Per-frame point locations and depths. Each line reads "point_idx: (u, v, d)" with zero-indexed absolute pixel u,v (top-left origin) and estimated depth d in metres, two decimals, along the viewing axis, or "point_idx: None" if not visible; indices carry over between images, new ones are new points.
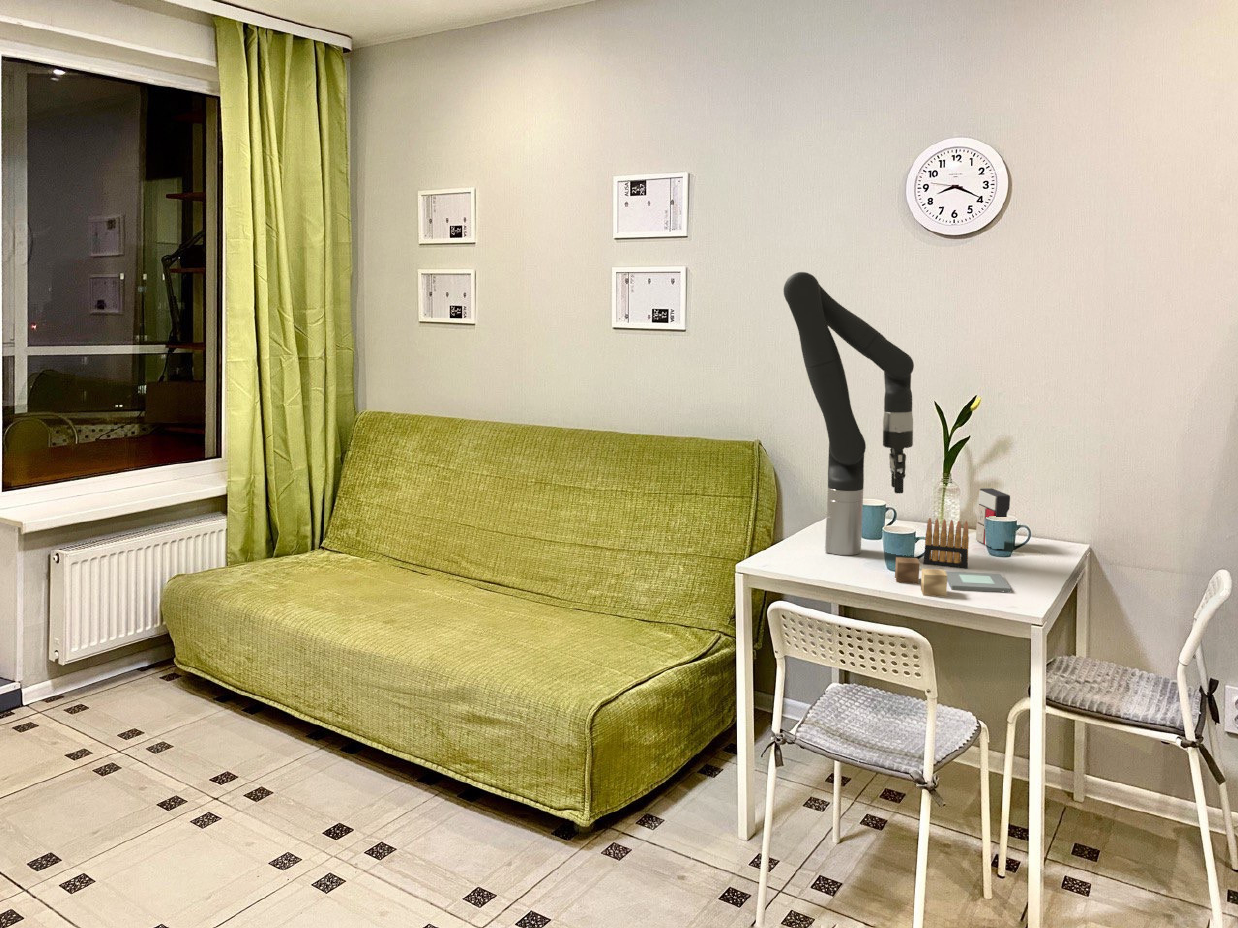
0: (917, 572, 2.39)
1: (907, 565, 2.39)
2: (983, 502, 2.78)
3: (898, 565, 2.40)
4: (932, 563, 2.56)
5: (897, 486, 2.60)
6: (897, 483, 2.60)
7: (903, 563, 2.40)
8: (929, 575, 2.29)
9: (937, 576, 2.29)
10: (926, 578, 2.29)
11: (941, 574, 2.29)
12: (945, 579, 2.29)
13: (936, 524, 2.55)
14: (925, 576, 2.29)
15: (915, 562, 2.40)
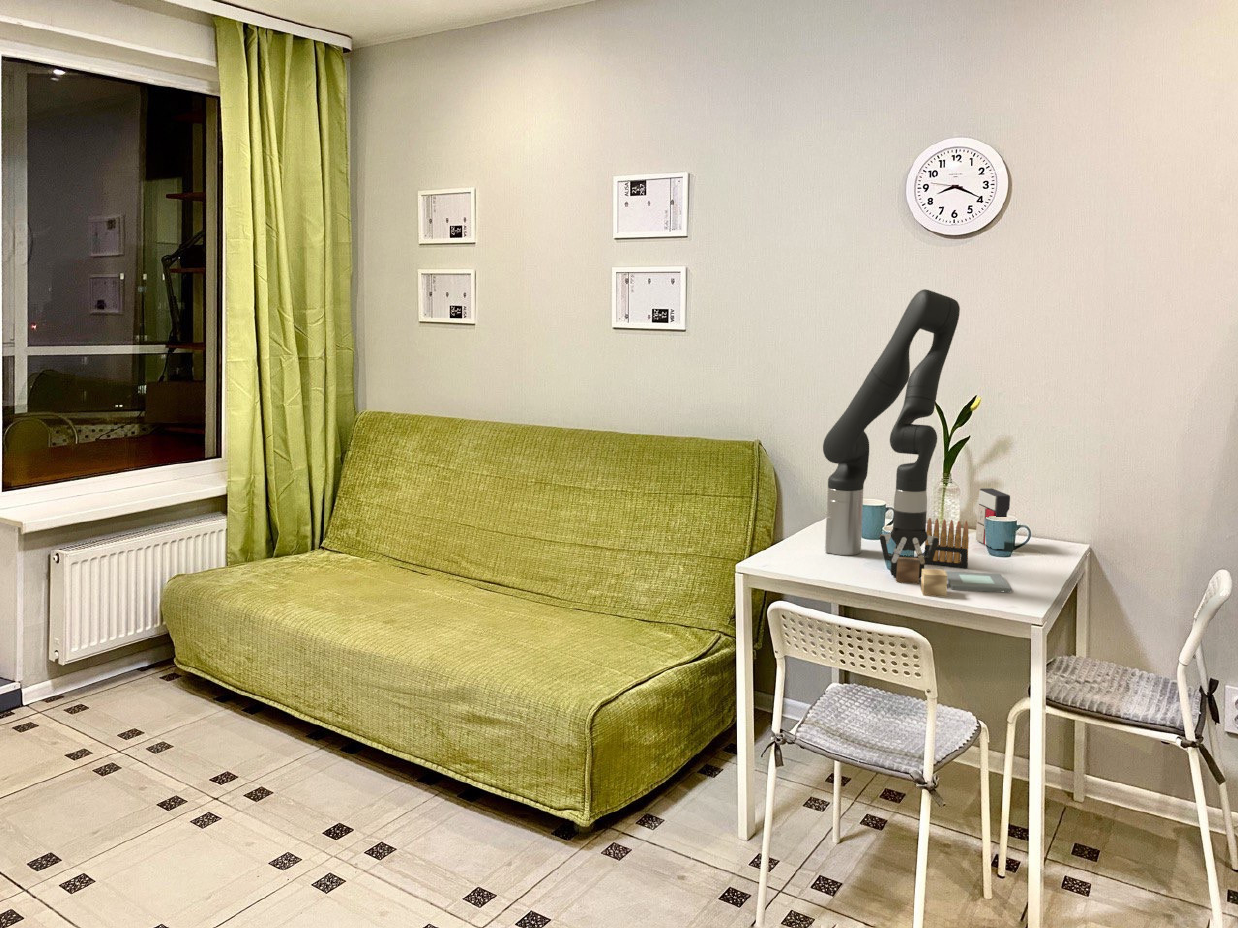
0: (917, 572, 2.39)
1: (907, 565, 2.39)
2: (983, 502, 2.78)
3: (898, 565, 2.40)
4: (932, 563, 2.56)
5: None
6: (923, 568, 2.41)
7: (903, 563, 2.40)
8: (929, 575, 2.29)
9: (937, 576, 2.29)
10: (926, 578, 2.29)
11: (941, 574, 2.29)
12: (945, 579, 2.29)
13: (936, 524, 2.55)
14: (925, 576, 2.29)
15: (915, 562, 2.40)
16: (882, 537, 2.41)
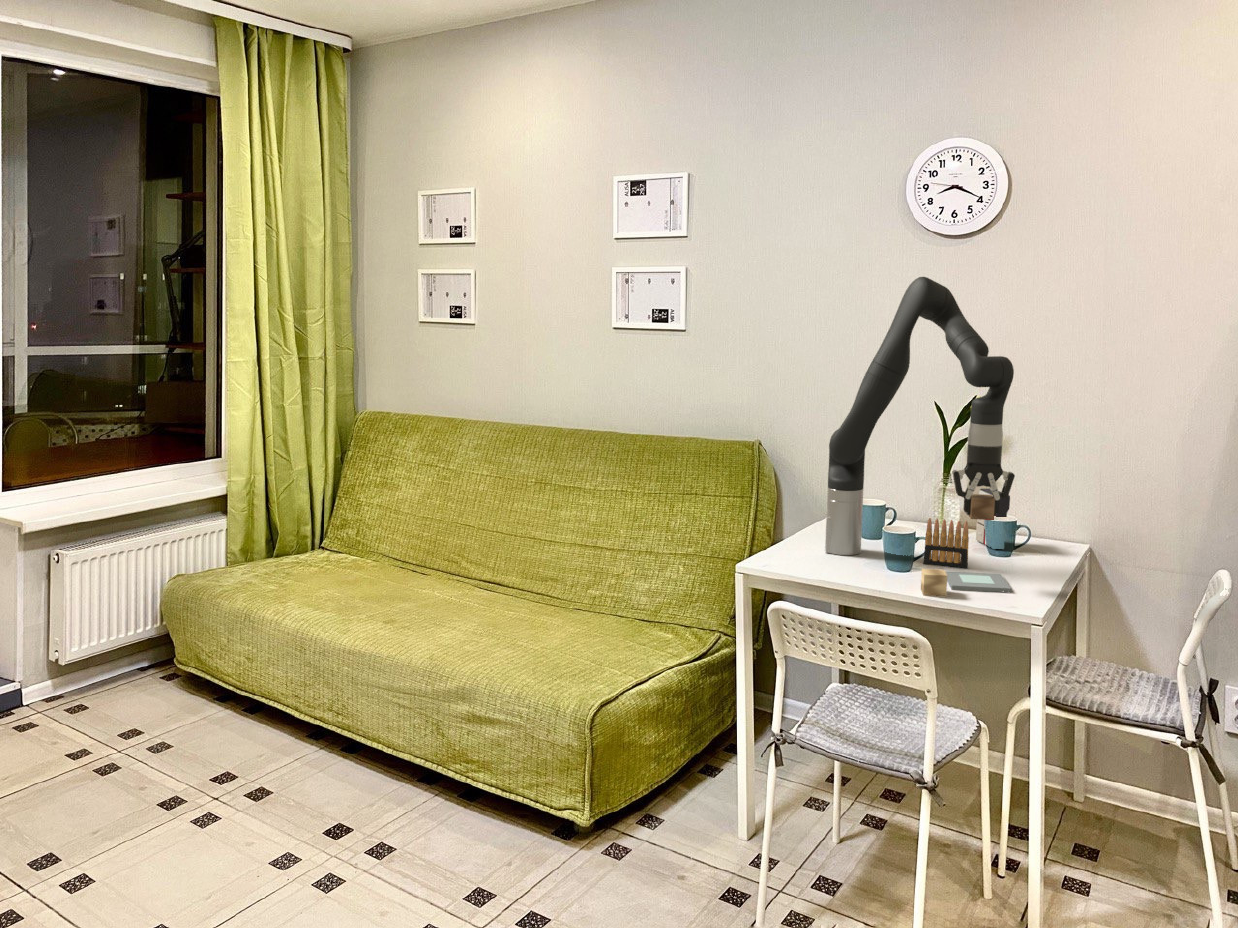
0: (992, 508, 2.34)
1: (982, 501, 2.34)
2: None
3: (973, 501, 2.35)
4: (932, 563, 2.56)
5: None
6: None
7: (978, 499, 2.34)
8: (929, 575, 2.29)
9: (937, 576, 2.29)
10: (926, 578, 2.29)
11: (941, 574, 2.29)
12: (945, 579, 2.29)
13: (936, 524, 2.55)
14: (925, 576, 2.29)
15: (990, 498, 2.35)
16: (956, 473, 2.35)
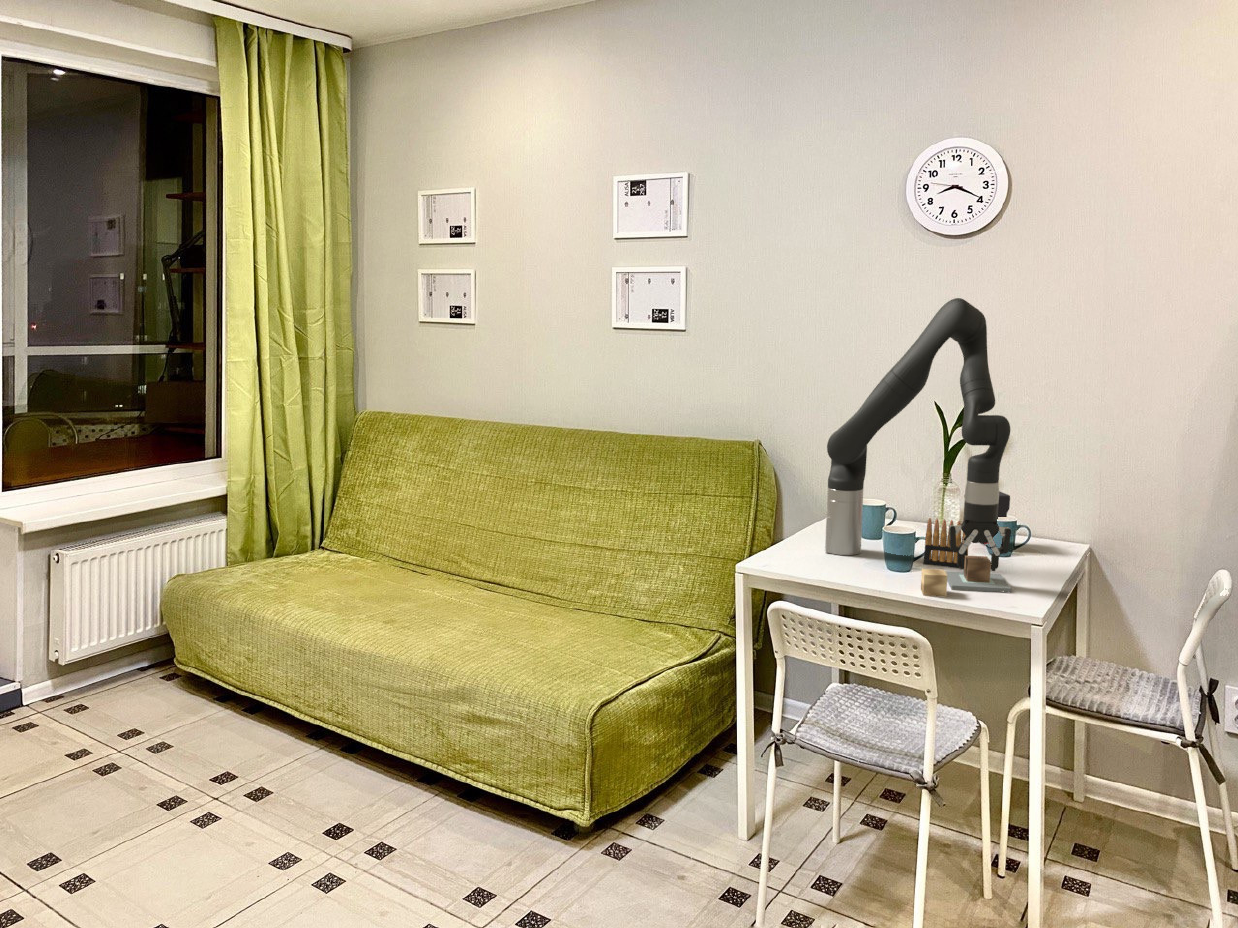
0: (988, 570, 2.36)
1: (978, 563, 2.36)
2: None
3: (969, 563, 2.37)
4: (932, 563, 2.56)
5: None
6: None
7: (974, 561, 2.37)
8: (929, 575, 2.29)
9: (937, 576, 2.29)
10: (926, 578, 2.29)
11: (941, 574, 2.29)
12: (945, 579, 2.29)
13: (936, 524, 2.55)
14: (925, 576, 2.29)
15: (986, 560, 2.37)
16: (952, 528, 2.38)
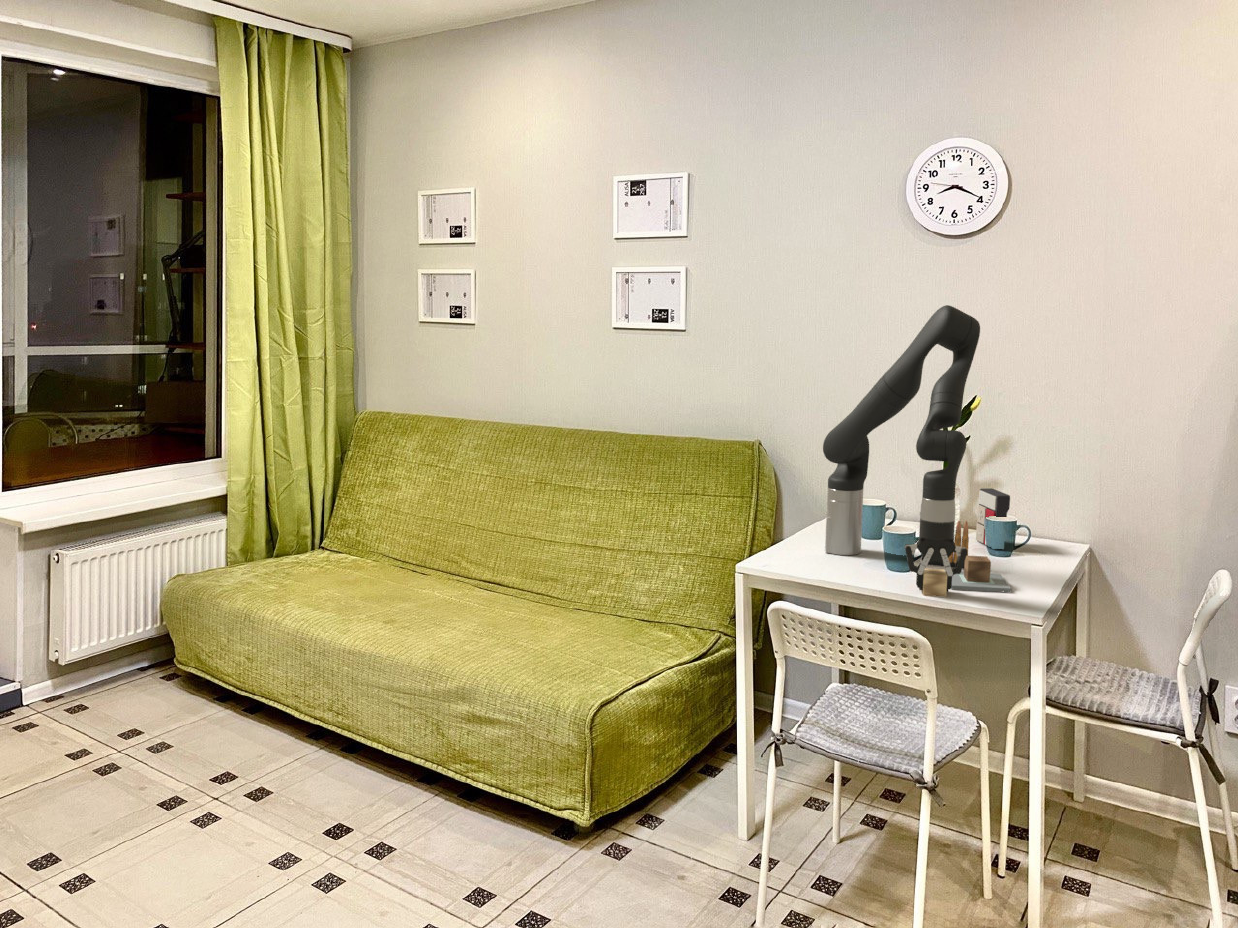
0: (988, 570, 2.36)
1: (978, 563, 2.36)
2: (983, 502, 2.78)
3: (969, 563, 2.37)
4: (932, 563, 2.56)
5: None
6: (951, 580, 2.30)
7: (974, 561, 2.37)
8: (929, 575, 2.29)
9: (937, 576, 2.29)
10: (926, 578, 2.29)
11: (941, 574, 2.29)
12: (945, 579, 2.28)
13: None
14: (925, 576, 2.29)
15: (986, 560, 2.37)
16: (908, 548, 2.30)
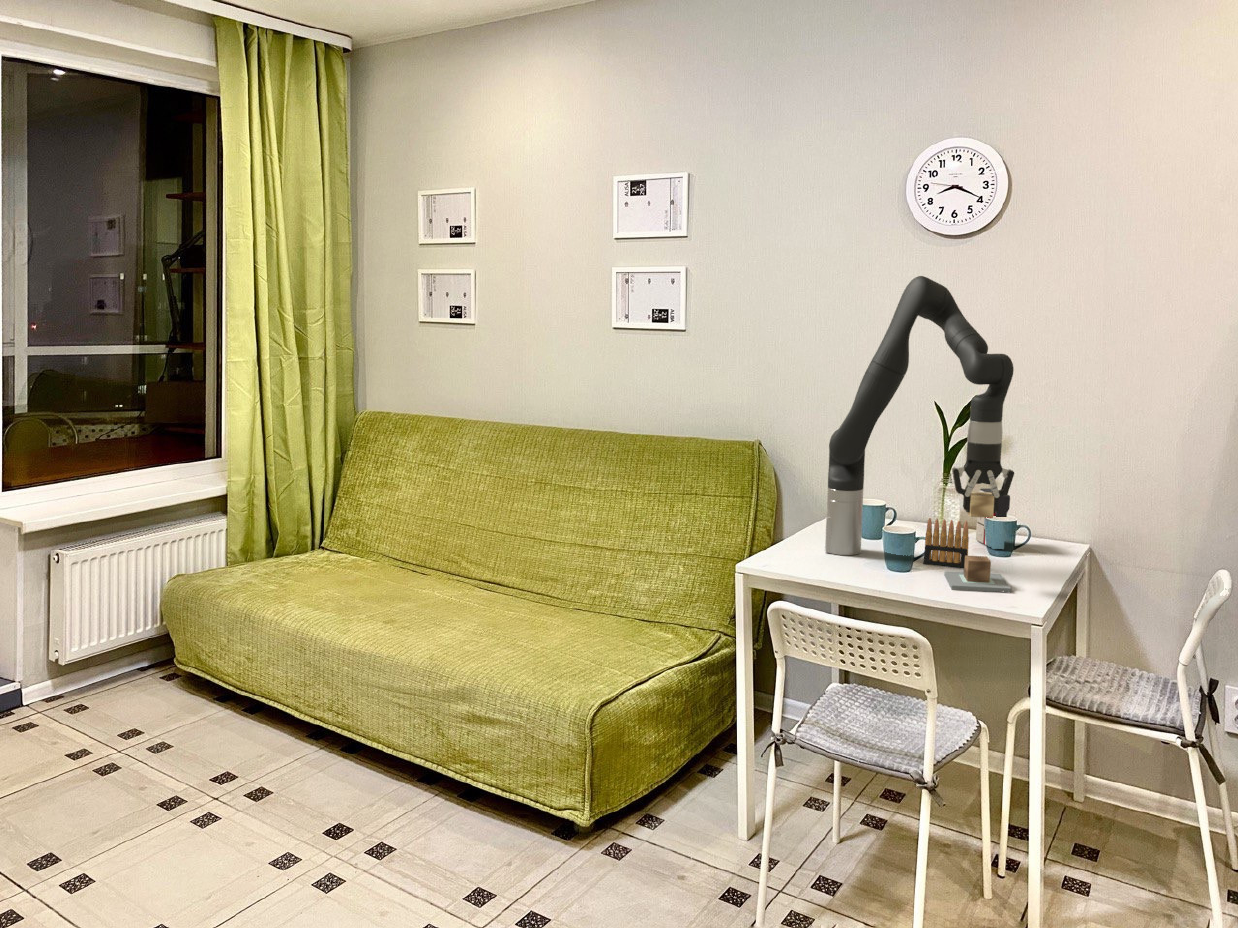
0: (988, 570, 2.36)
1: (978, 563, 2.36)
2: None
3: (969, 563, 2.37)
4: (932, 563, 2.56)
5: None
6: None
7: (974, 561, 2.37)
8: (976, 496, 2.34)
9: (984, 497, 2.34)
10: (973, 499, 2.34)
11: (988, 495, 2.34)
12: (992, 500, 2.34)
13: (936, 524, 2.55)
14: (972, 497, 2.34)
15: (986, 560, 2.37)
16: (955, 470, 2.35)
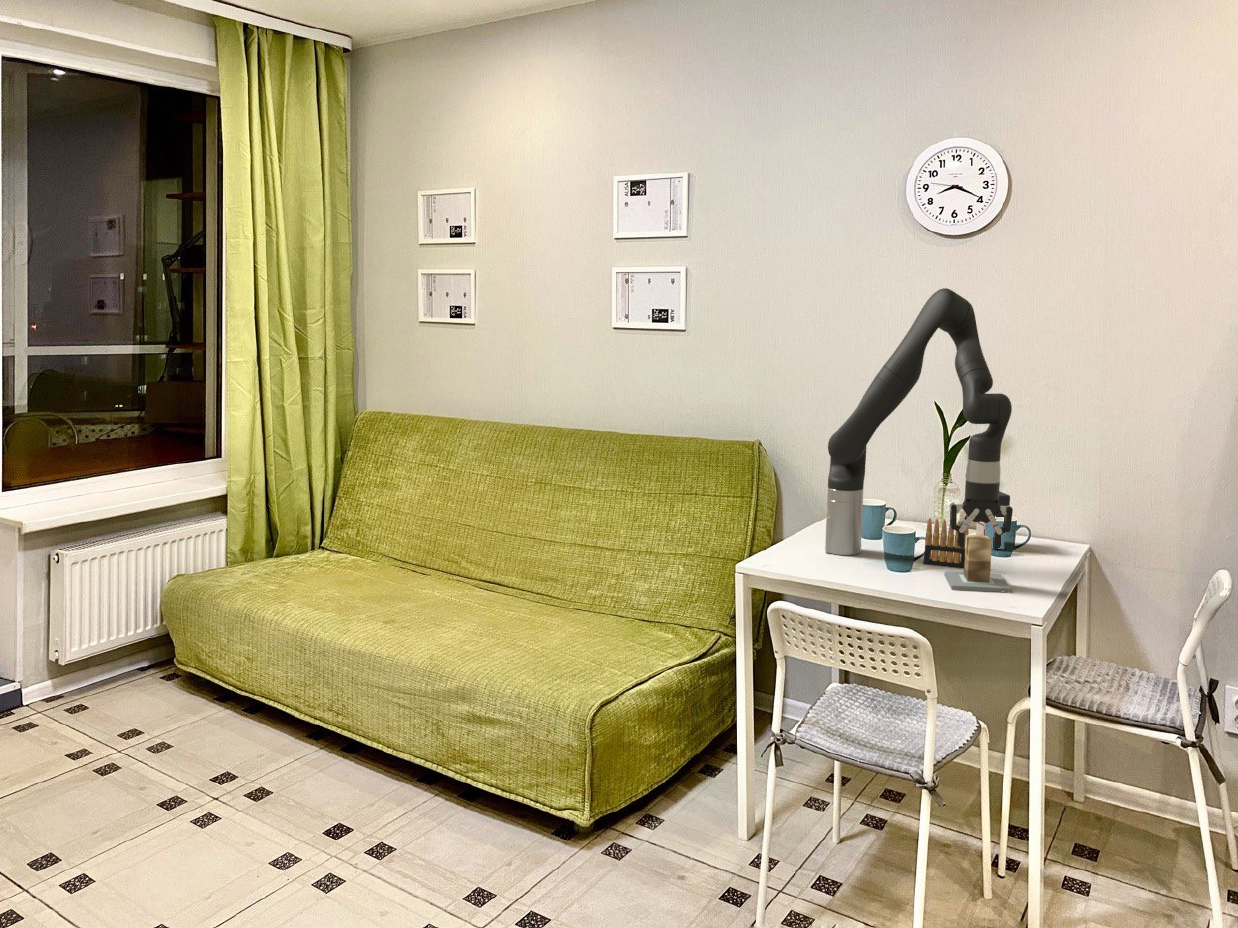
0: (988, 570, 2.36)
1: (978, 563, 2.36)
2: None
3: (969, 563, 2.37)
4: (932, 563, 2.56)
5: None
6: None
7: (974, 561, 2.37)
8: (974, 540, 2.36)
9: (982, 541, 2.36)
10: (971, 543, 2.36)
11: (986, 540, 2.36)
12: (990, 544, 2.35)
13: (936, 524, 2.55)
14: (970, 541, 2.36)
15: None
16: (954, 506, 2.37)
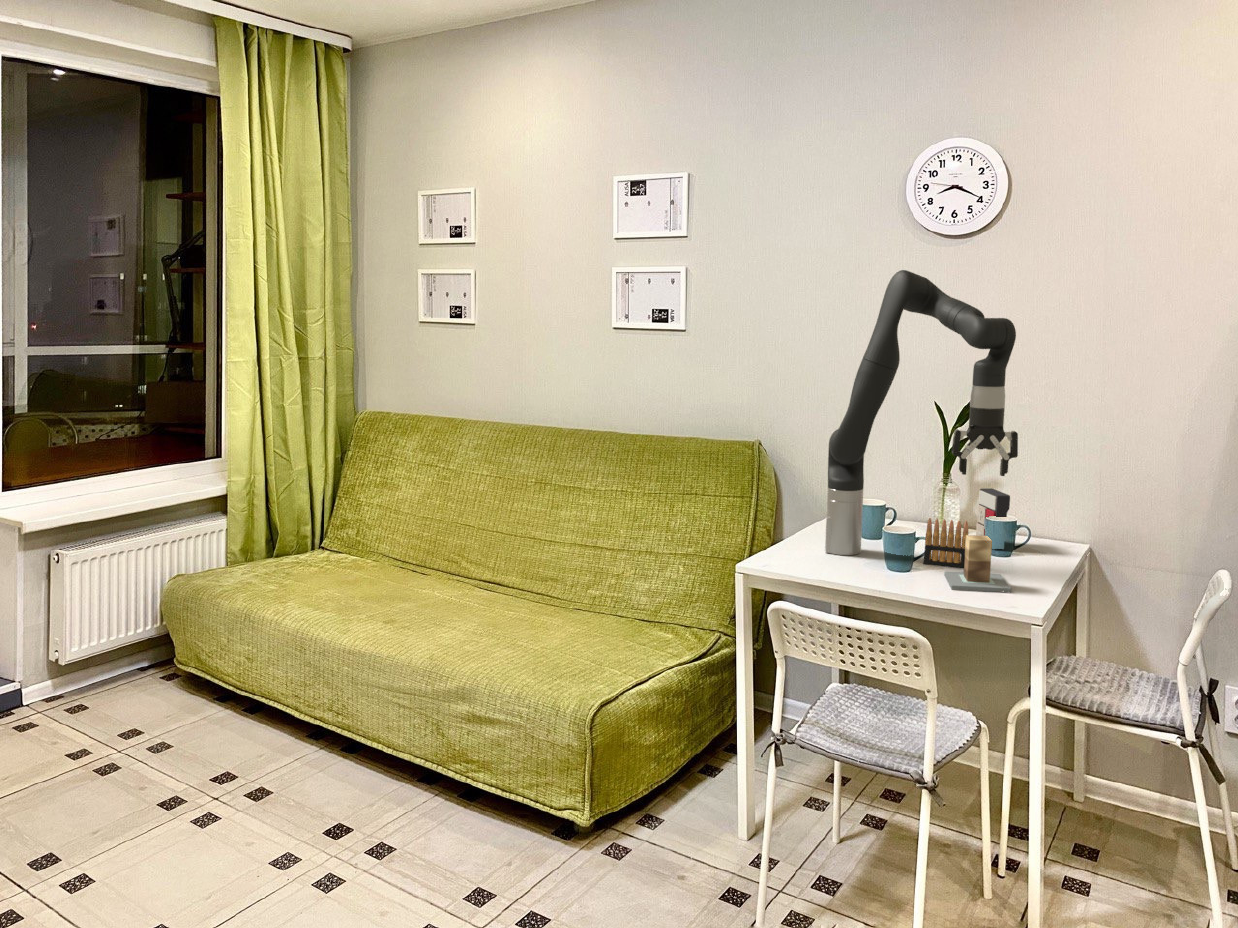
0: (988, 570, 2.36)
1: (978, 563, 2.36)
2: (983, 502, 2.78)
3: (969, 563, 2.37)
4: (932, 563, 2.56)
5: None
6: None
7: (974, 561, 2.37)
8: (974, 540, 2.36)
9: (982, 541, 2.36)
10: (971, 543, 2.36)
11: (986, 540, 2.36)
12: (990, 544, 2.35)
13: (936, 524, 2.55)
14: (970, 541, 2.36)
15: None
16: (958, 432, 2.34)
